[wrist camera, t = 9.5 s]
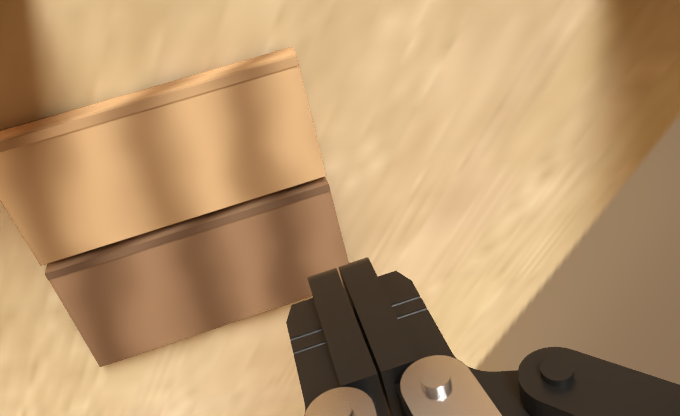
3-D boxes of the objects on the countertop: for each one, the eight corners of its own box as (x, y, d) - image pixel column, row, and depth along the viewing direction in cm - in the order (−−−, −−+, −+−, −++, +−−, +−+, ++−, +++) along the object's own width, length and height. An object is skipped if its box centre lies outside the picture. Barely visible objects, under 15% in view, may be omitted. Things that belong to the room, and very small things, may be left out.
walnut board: (323, 174, 44) (328, 184, 43) (348, 270, 49) (353, 282, 48) (48, 260, 42) (44, 273, 41) (102, 352, 47) (99, 368, 45)
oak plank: (291, 47, 39) (296, 54, 38) (321, 166, 44) (326, 176, 43) (-26, 138, 37) (-32, 149, 35) (43, 252, 42) (40, 266, 40)
